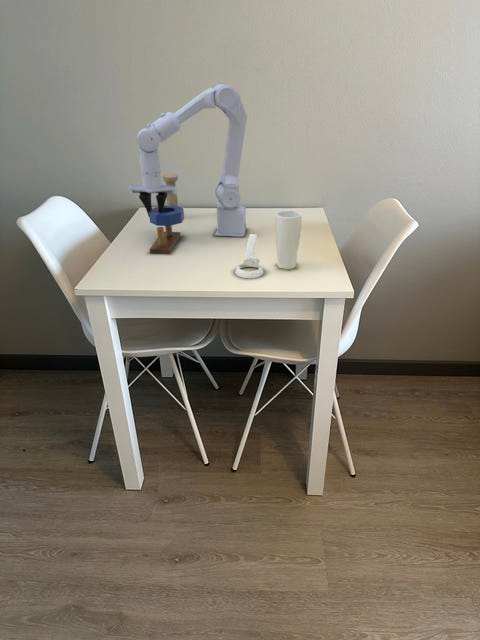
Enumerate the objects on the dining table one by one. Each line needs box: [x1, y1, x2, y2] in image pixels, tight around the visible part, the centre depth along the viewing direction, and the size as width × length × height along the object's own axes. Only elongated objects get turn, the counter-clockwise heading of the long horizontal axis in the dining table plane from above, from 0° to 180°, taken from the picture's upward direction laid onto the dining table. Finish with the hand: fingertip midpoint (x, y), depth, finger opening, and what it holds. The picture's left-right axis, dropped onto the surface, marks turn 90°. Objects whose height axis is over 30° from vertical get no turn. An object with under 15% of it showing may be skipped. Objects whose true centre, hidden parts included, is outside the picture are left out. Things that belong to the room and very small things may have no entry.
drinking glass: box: [275, 209, 302, 270], centre depth 127 cm, size 7×7×15 cm
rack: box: [149, 225, 182, 255], centre depth 144 cm, size 6×15×7 cm, turn 173°
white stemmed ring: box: [234, 233, 264, 279], centre depth 127 cm, size 8×12×7 cm
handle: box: [162, 172, 179, 207], centre depth 166 cm, size 5×6×15 cm
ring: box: [148, 205, 185, 227], centre depth 146 cm, size 10×10×3 cm
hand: (155, 216), depth 147 cm, fingers closed on ring, 3 cm apart
